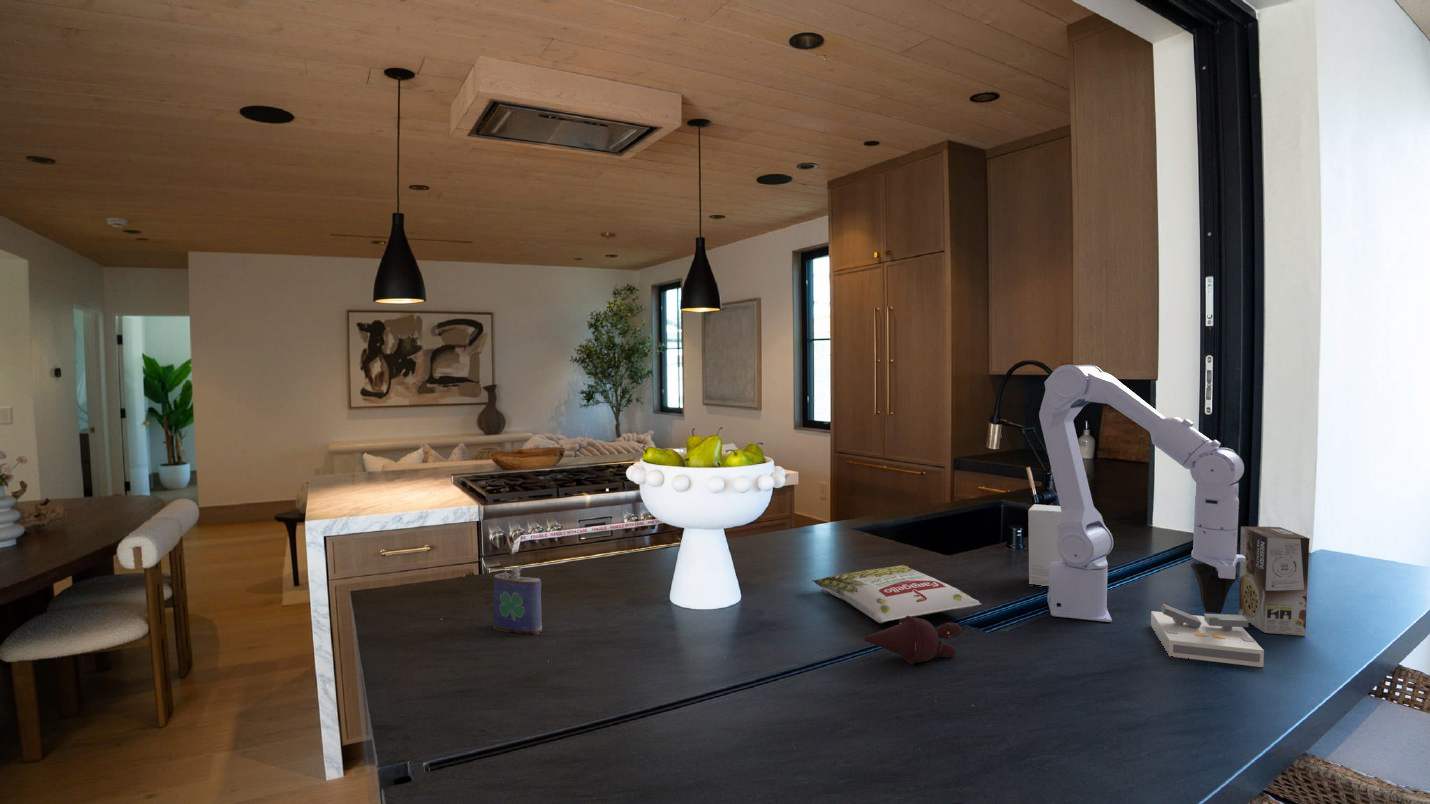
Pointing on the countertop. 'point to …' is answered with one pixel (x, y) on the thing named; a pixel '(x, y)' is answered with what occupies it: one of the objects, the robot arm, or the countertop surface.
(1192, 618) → the block
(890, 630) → the icecream
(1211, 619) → the rocker right
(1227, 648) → the console
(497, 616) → the flask
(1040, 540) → the skincare box
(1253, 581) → the coffee box
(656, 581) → the countertop surface
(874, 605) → the frozen beans
